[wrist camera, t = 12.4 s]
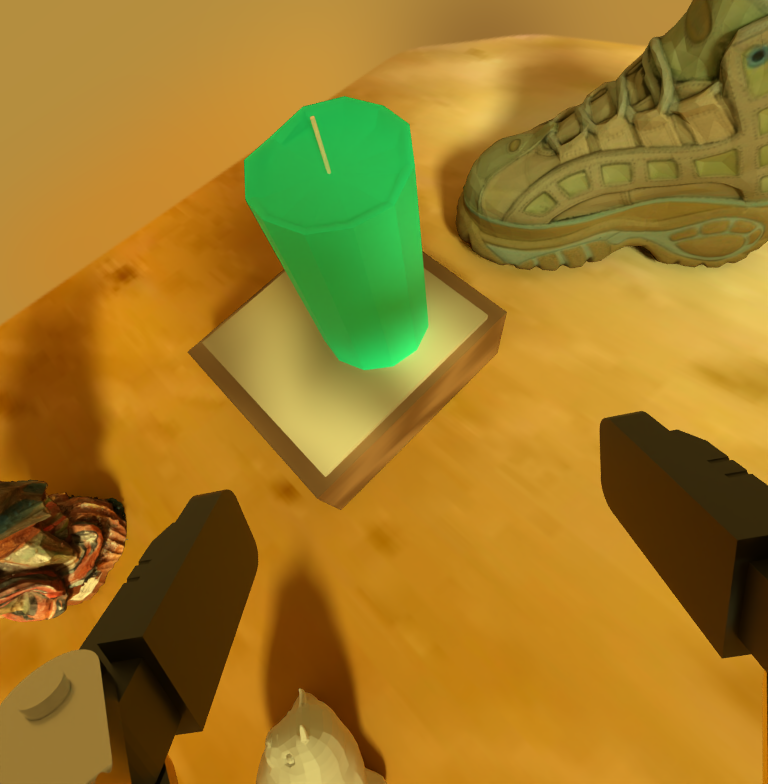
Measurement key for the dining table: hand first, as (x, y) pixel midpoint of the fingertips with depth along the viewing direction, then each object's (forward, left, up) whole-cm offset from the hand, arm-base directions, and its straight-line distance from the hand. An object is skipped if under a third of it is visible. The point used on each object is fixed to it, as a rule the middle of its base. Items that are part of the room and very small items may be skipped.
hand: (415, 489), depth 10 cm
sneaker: (-23, -6, -17) cm, 29 cm away
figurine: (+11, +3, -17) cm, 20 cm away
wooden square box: (-4, -11, -17) cm, 20 cm away
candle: (-6, -10, -11) cm, 16 cm away
